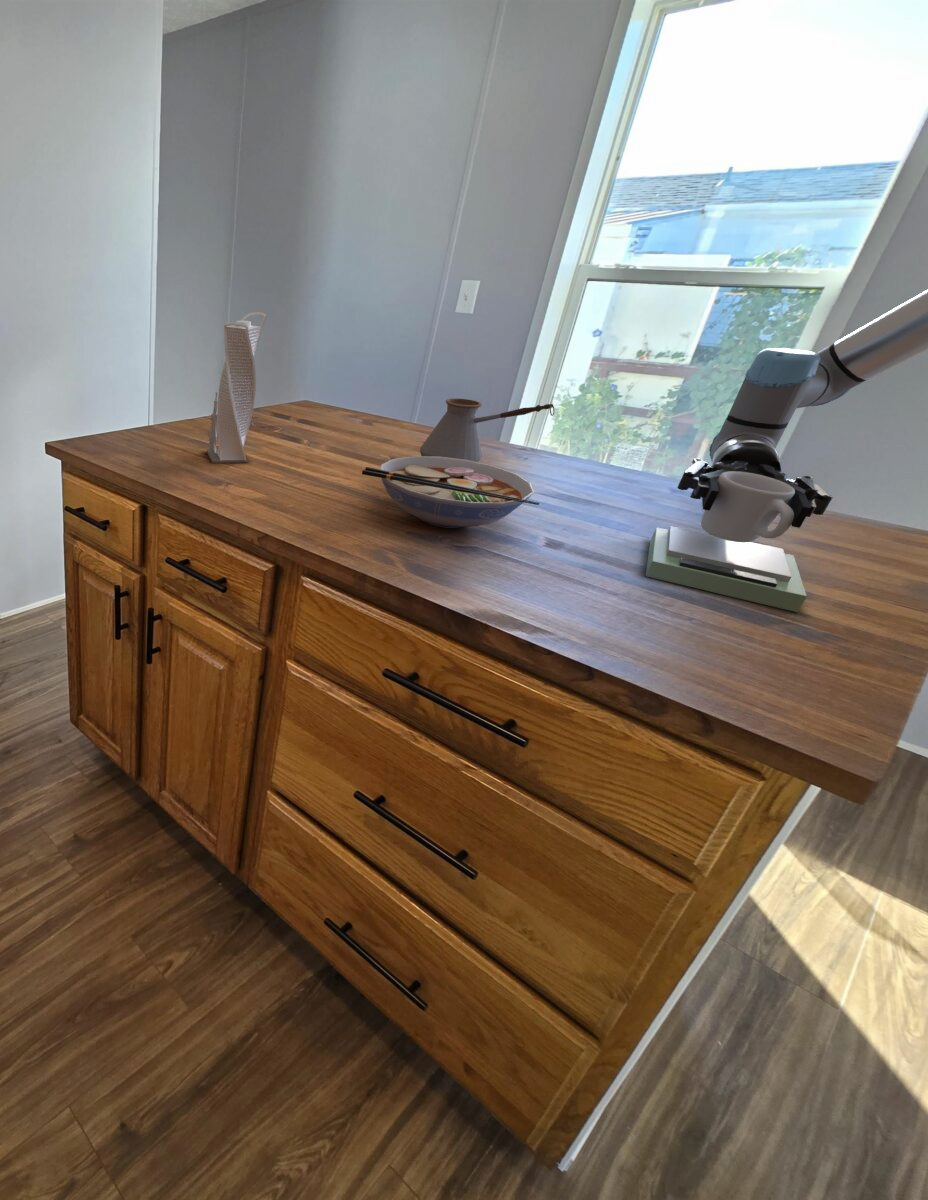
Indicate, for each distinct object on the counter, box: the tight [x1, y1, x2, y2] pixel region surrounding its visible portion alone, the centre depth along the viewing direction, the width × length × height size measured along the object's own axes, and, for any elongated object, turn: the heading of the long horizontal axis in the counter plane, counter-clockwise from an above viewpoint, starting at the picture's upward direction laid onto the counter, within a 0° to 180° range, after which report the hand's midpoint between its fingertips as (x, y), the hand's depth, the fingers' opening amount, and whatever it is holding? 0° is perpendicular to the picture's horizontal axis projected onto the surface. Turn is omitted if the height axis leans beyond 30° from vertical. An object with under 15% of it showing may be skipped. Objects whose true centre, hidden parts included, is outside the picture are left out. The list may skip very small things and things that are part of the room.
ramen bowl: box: [361, 455, 540, 529], centre depth 106 cm, size 25×23×8 cm
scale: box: [645, 525, 808, 613], centre depth 92 cm, size 16×15×3 cm
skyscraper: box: [206, 311, 268, 464], centre depth 129 cm, size 8×8×28 cm
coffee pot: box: [419, 398, 555, 462], centre depth 126 cm, size 21×12×15 cm, turn 46°
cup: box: [700, 471, 795, 542], centre depth 89 cm, size 11×8×8 cm
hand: (754, 508), depth 85 cm, fingers closed on cup, 8 cm apart
